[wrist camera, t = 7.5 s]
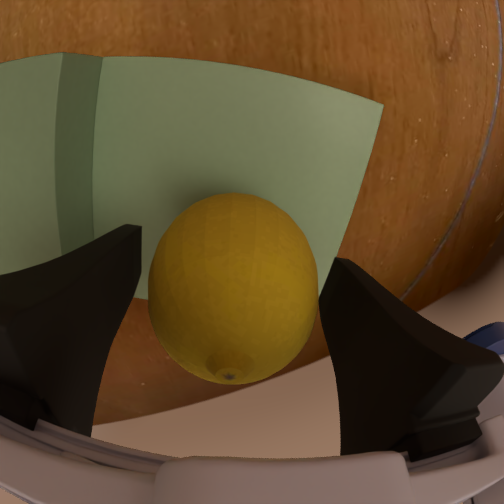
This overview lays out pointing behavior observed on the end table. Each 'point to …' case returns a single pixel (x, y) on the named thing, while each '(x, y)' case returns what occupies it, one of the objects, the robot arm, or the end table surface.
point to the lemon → (233, 289)
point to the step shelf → (169, 150)
